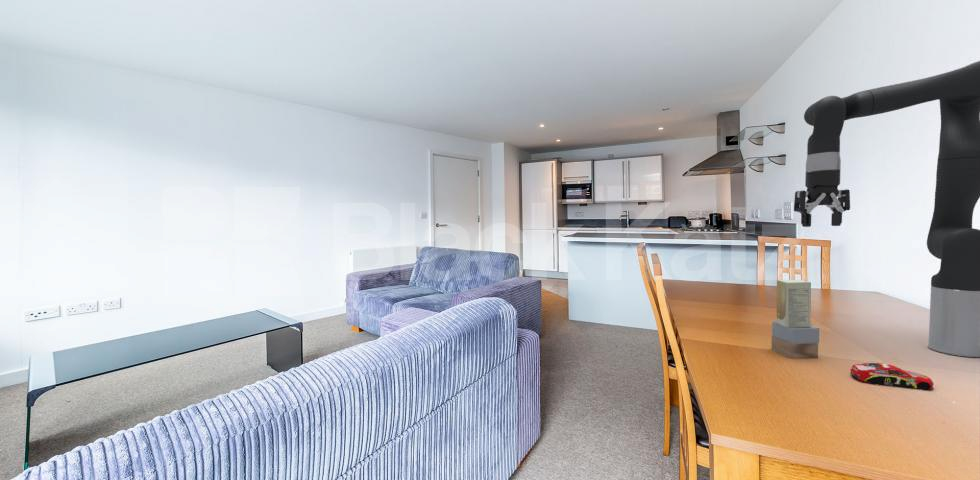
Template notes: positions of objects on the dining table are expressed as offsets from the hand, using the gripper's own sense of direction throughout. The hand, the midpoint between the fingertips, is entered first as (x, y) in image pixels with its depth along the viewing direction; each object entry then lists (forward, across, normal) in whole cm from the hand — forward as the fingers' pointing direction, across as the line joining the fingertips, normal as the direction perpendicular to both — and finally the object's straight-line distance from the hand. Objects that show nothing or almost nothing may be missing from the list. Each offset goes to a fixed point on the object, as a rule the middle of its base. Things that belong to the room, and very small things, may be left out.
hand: (821, 226), depth 109 cm
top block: (+30, +14, +8) cm, 34 cm away
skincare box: (+26, +15, +9) cm, 31 cm away
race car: (+35, +7, +27) cm, 44 cm away
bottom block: (+34, +14, +9) cm, 38 cm away
